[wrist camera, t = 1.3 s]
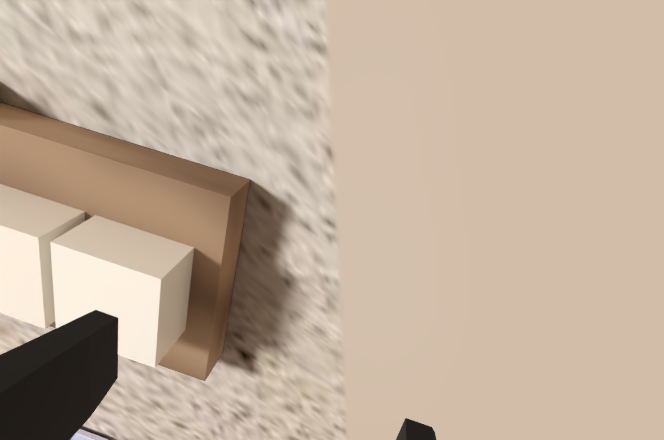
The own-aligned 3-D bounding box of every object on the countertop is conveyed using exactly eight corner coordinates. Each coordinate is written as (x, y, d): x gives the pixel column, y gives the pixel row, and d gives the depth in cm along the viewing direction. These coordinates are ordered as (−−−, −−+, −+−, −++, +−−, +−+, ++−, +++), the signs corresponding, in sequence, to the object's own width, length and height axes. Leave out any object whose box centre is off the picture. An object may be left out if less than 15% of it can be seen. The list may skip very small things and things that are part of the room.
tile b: (86, 295, 21) (45, 328, 19) (1, 265, 22) (-49, 295, 20) (84, 211, 19) (38, 237, 17) (-10, 180, 20) (-67, 202, 17)
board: (222, 353, 24) (204, 381, 22) (17, 281, 25) (-16, 302, 23) (250, 179, 19) (230, 197, 17) (-2, 101, 20) (-45, 110, 19)
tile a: (185, 329, 21) (154, 368, 19) (96, 298, 21) (56, 332, 19) (194, 247, 19) (161, 279, 17) (95, 215, 19) (50, 242, 17)
